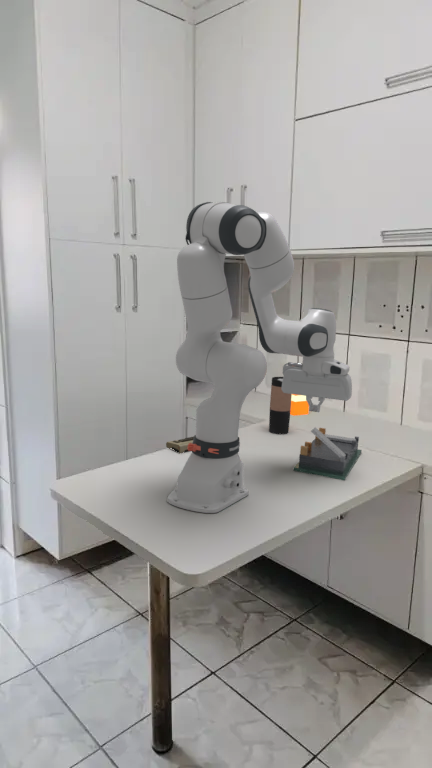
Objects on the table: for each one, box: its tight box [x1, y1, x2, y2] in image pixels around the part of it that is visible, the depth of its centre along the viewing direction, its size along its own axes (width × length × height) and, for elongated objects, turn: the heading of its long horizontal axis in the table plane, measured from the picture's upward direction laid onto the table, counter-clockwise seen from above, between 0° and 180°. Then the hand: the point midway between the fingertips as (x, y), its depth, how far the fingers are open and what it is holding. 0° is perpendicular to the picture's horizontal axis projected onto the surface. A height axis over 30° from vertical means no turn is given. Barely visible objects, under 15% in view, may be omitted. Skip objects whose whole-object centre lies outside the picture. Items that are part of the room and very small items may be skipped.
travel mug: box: [268, 376, 292, 435], centre depth 191 cm, size 8×8×20 cm
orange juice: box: [290, 394, 310, 417], centre depth 221 cm, size 8×9×20 cm
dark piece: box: [292, 427, 362, 481], centre depth 162 cm, size 28×15×7 cm, turn 155°
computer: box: [165, 436, 194, 454], centre depth 172 cm, size 16×8×3 cm, turn 129°
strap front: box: [310, 426, 346, 458], centre depth 153 cm, size 3×12×1 cm
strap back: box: [323, 433, 356, 443], centre depth 170 cm, size 3×12×1 cm, turn 65°
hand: (314, 411), depth 153 cm, fingers closed
